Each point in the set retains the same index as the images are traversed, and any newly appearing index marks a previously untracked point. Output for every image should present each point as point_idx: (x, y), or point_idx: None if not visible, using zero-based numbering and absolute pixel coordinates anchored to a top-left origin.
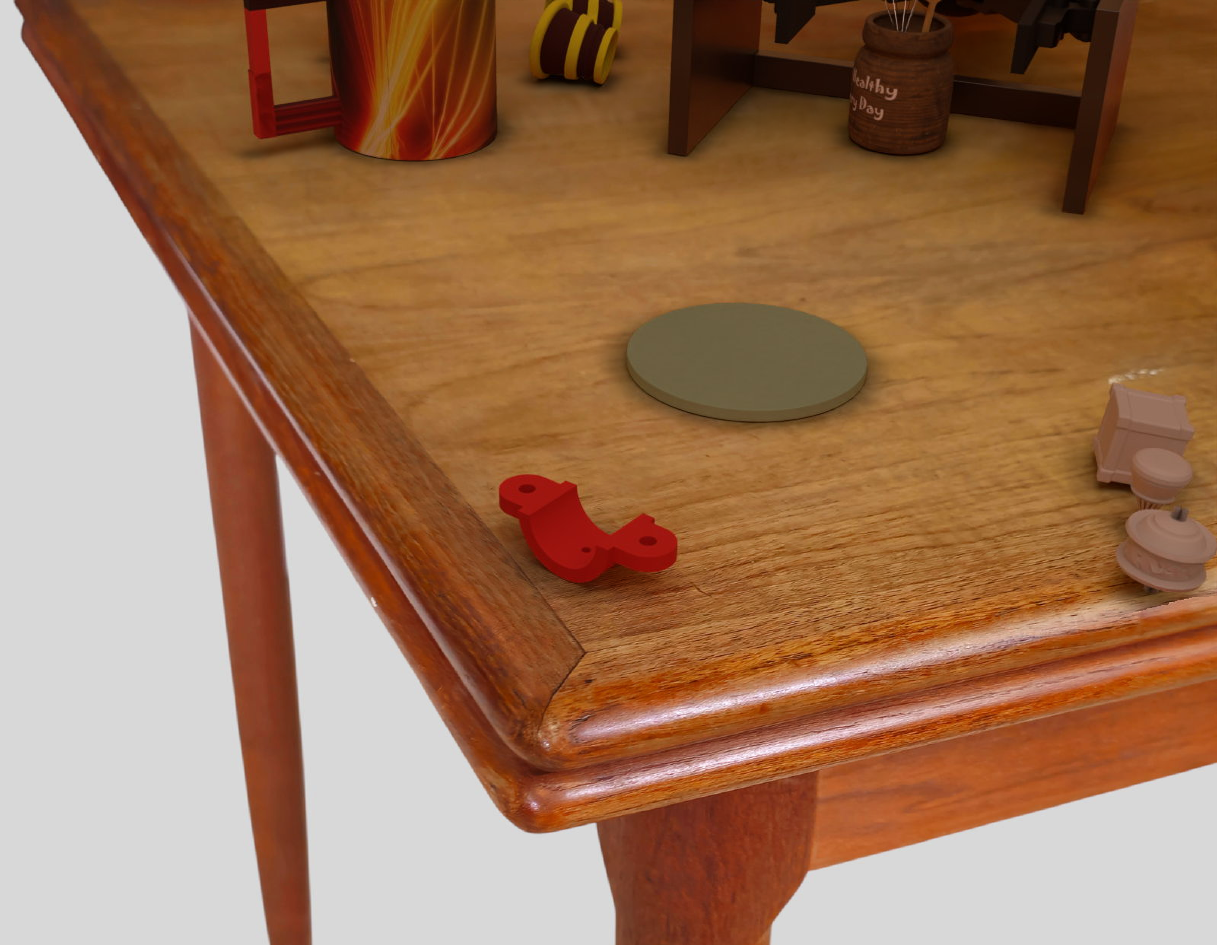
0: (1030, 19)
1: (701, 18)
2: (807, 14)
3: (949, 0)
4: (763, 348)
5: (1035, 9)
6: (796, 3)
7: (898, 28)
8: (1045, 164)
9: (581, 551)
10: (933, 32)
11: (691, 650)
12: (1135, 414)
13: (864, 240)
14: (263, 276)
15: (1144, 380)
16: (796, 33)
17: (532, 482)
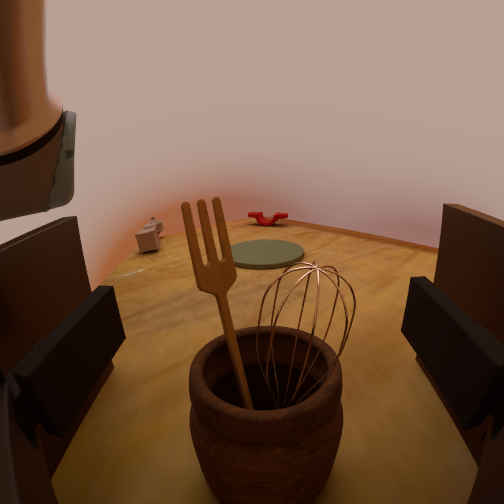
0: (90, 297)
1: (449, 269)
2: (447, 383)
3: None
4: (259, 252)
5: (66, 322)
6: (422, 308)
7: (286, 388)
8: (100, 444)
9: (268, 221)
10: (218, 337)
11: (241, 221)
12: (151, 228)
13: (245, 315)
14: (427, 250)
15: (130, 272)
16: (418, 354)
17: (282, 214)
